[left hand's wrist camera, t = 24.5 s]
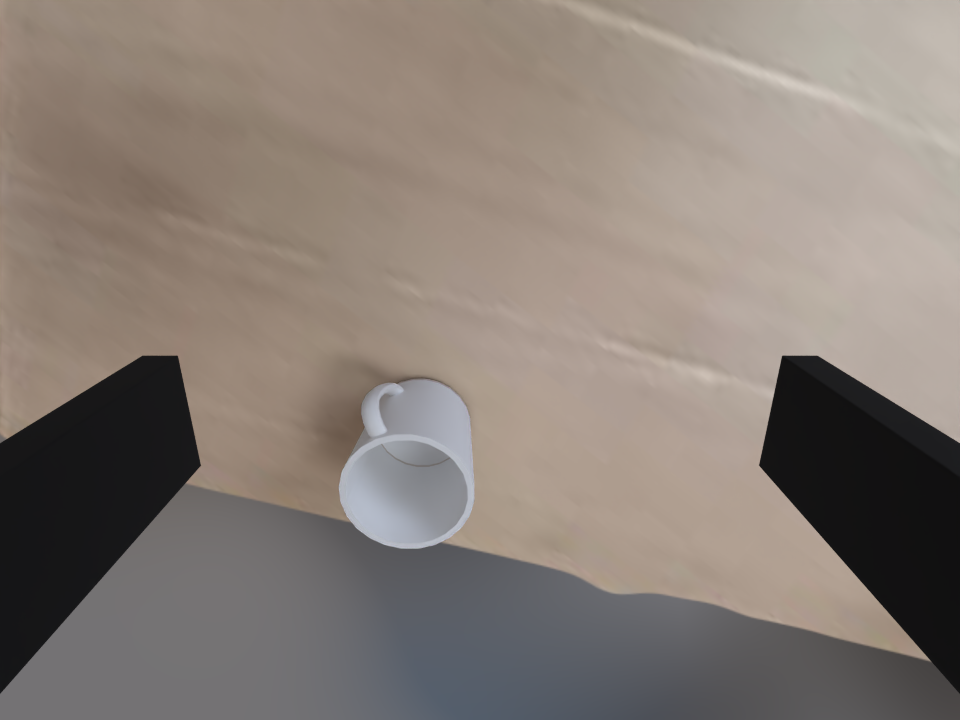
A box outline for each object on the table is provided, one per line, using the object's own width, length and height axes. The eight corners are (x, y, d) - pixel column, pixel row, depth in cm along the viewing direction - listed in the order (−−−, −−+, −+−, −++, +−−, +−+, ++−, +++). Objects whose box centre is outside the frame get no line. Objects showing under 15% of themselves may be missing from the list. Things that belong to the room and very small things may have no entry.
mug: (492, 446, 47) (495, 523, 37) (397, 481, 48) (376, 565, 38) (438, 332, 43) (426, 385, 34) (337, 373, 44) (298, 436, 35)
